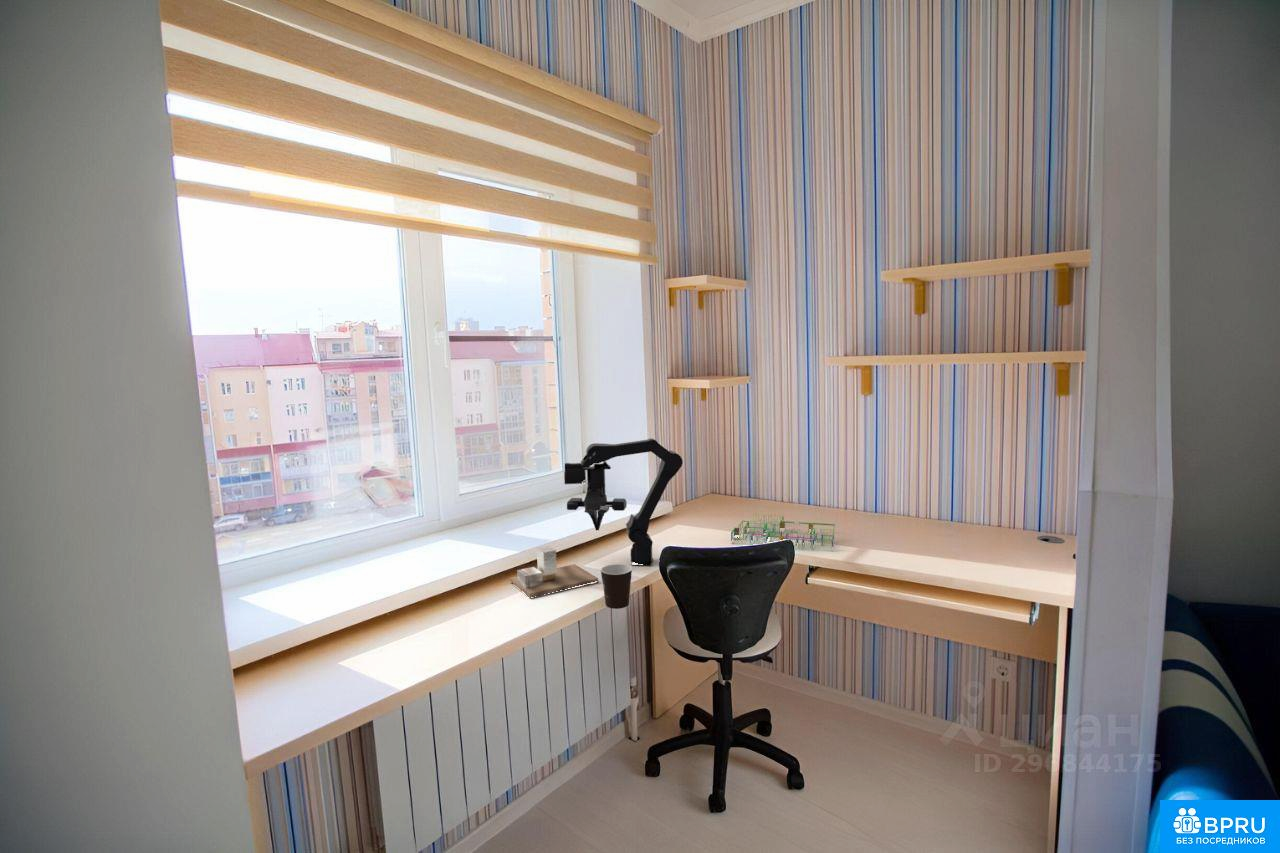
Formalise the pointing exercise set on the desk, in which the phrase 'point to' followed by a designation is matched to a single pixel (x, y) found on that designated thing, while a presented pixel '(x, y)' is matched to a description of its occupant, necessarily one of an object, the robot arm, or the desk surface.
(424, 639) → the desk surface
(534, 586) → the lock plate
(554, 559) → the white boxy piece
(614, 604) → the coffee mug
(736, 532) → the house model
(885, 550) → the desk surface
